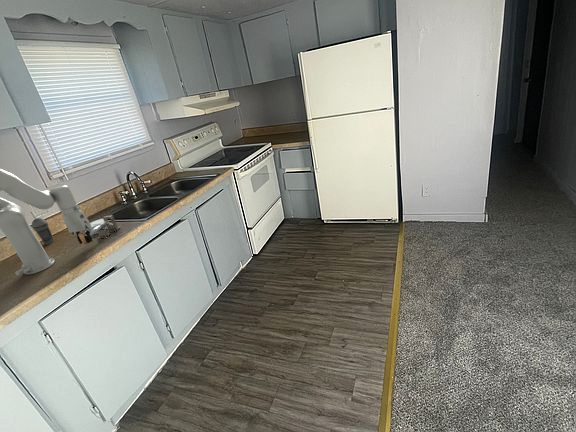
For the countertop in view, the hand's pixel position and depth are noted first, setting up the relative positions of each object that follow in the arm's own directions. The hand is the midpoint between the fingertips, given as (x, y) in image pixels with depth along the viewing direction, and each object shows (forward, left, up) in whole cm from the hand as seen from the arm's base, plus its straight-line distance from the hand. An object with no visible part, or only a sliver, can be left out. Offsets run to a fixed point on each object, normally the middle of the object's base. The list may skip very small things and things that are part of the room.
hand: (86, 241), depth 158 cm
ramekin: (+22, +11, -4) cm, 24 cm away
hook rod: (+8, 0, 0) cm, 8 cm away
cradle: (+12, 0, -3) cm, 12 cm away
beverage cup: (+11, +37, -4) cm, 39 cm away
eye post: (+20, 0, -3) cm, 20 cm away
